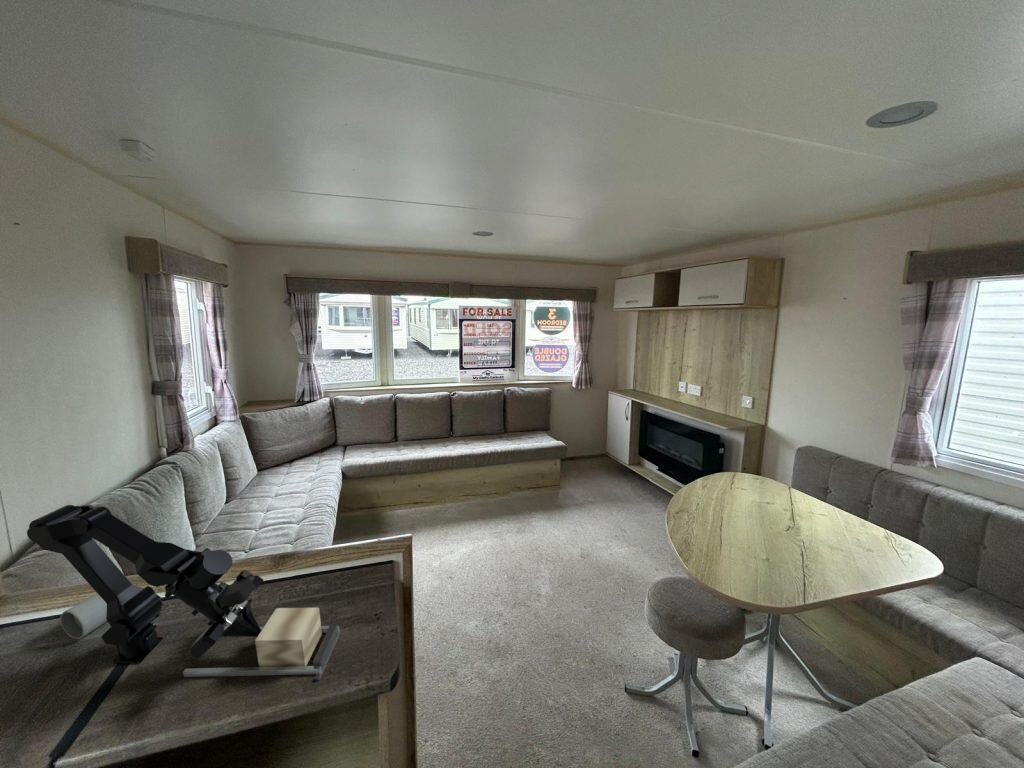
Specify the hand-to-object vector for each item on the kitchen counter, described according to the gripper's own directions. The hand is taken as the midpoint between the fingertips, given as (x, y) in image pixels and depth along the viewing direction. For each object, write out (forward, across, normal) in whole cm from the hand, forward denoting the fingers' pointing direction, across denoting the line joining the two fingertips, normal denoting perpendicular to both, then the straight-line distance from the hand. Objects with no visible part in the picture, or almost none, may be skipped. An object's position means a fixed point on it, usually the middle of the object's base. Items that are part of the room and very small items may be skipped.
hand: (259, 634), depth 92 cm
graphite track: (+5, 0, +4) cm, 6 cm away
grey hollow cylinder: (-29, +10, +39) cm, 49 cm away
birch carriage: (+8, 0, -1) cm, 8 cm away
